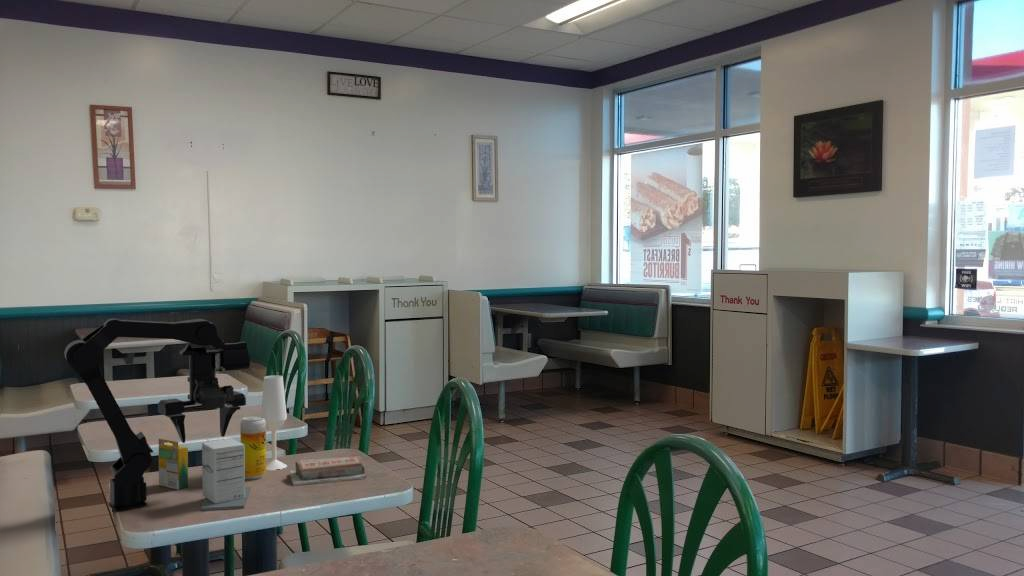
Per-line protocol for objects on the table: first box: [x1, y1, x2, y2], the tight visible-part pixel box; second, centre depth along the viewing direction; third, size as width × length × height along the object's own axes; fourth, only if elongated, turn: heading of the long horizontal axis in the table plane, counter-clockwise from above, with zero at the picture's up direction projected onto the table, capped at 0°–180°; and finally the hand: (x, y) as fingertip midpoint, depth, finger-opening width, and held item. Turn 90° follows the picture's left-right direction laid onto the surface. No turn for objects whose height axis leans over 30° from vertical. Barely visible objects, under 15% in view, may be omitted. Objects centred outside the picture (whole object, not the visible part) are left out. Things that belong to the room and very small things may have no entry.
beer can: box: [239, 415, 267, 480], centre depth 200 cm, size 6×6×15 cm
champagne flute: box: [260, 374, 288, 471], centre depth 209 cm, size 7×7×24 cm
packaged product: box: [289, 455, 367, 486], centre depth 201 cm, size 18×5×10 cm
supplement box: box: [201, 438, 246, 504], centre depth 182 cm, size 7×7×13 cm
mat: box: [200, 486, 251, 512], centre depth 182 cm, size 9×14×1 cm, turn 13°
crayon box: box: [158, 438, 189, 491], centre depth 192 cm, size 7×3×12 cm, turn 61°
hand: (203, 439), depth 185 cm, fingers open, 9 cm apart
